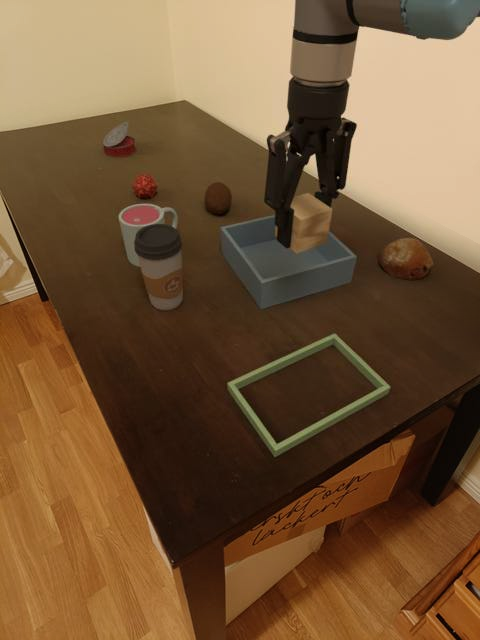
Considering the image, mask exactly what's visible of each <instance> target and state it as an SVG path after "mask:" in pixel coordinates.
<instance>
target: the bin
mask: <svg viewBox="0 0 480 640" xmlns="http://www.w3.org/2000/svg"><path fill="white" fill-rule="evenodd" d="M275 226H276V225H275V214H273V215H267V216H264V217H259V218H254V219H251V220H246V221H241V222H238V223H234V224H229V225H225V226H220V230H219V231H220V251H221V252H220V253H221V254H222V256H223V257H224V259H225V260H226V261H227V263H228V265H229V266H230V267H231V270H232V271H234V274H235V275H236V276H237V278H238V279H239V280H240V282H241V284H242V285H243V286H244V287H245V289H246V290H247V292H248V293H249V295H250V296H251V297H252V299H253V300H254V302H255V303H256V305H257V306H258V308H259V309H260V310H264V309H266V308H270V307H273V306H277V305H279V304H280V305H281V304H285V303H287V302H291V301H293V300H297V299H300V298H304V297H307V296H310V295H314V294H317V293H320V292H323V291H327V290H330V289H331V290H332V289H334V288H337V287H340V286H345V285H347V284H350V283H352V280H353V275H354V272H355V267H356V263H357V258H358V256H357V255H355V253H354V252H353V251H352V250H351V249H350V248H348V247H347V246H346V245H345V244H344V243H343V242H342V241H341V240H340V239H339V238H338V237H336V235H335V234H333V233H332V232H331V231H330V230H329V233H328V239H327V243H325V244H322V245H319V246H317V247H314V248H311V249H308V250H306V251H303V252H300V253H298V254H296V253H295V252H294V251H293V250H291V249H290V248H287V249H286V248H285V247H284V246H283V245H282V244H281V243H279V242H278V241H277V237H276V236H275Z"/></svg>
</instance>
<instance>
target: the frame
mask: <svg viewBox="0 0 480 640" xmlns="http://www.w3.org/2000/svg"><path fill="white" fill-rule="evenodd" d="M330 346H334V348H336V349H337V350H338V352H340V354H342V355H343V356H344V357H345V359H347V361H349V362H350V363H351V364H352V365H353V366H354V367H355V368H356V370H358V371H359V372H360V373H361V374H362V375H363V376H364V377H365V378H366V379H367V380H368V381H369V382H370V383H371V384H372V385H373V386H374V387H375V390H373V391H372V392H369V393H368V394H366V395H364V396H362V397H360V398H358V399H357V400H355V401H353V402H352V403H350V404H348V405H346V406H344V407H341V408H340V409H338V410H337V411H335V412H333V413H331V414H329V415H328V416H326V417H324V418H322V419H321V420H319V421H317V422H315V423H313V424H311V425H309V426H308V427H306V428H304V429H302V430H300V431H298V432H296V433H295V434H293V435H291V436H289V437H287V438H286V439H284V440H282V441H280V442H278V443H277V442H276V440H275V439H274V438H273V436H272V435H271V434H270V432H269V431H268V430H267V428H266V427H265V425H264V424H263V423H262V421H261V419H260V418H259V417H258V415H257V414H256V412H255V411H254V410H253V408H252V407H251V406H250V404H249V402H247V400H246V398H245V397H244V396H243V394H242V393H241V392H240V389H242V388H244V387H246V386H248V385H250V384H253V383H254V382H256V381H258V380H261V379H263V378H265V377H267V376H269V375H272V374H273V373H275V372H278V371H280V370H282V369H285V368H286V367H288V366H290V365H293V364H294V363H295V364H296V362H299V361H301V360H303V359H305V358H307V357H309V356H311V355H314V354H316V353H318V352H321V351H322V350H324V349H327V348H329V347H330ZM391 389H392V388H391V386H390V385H389V384H388V382H386V381H385V380H384V379H383V378H382V377H381V376H380V375H379V374H378V373H377V372H376V371H375V370H374V369H372V367H371V366H370V365H369V364H367V362H366V361H365V360H363V358H362V357H360V356H359V355H358V354H357V353H356V352H355V351H354V350H353V349H352V348H351V347H350V346H349V345H348V344H346V342H345V341H343V339H341V338H340V337H339V335H337V333H335V332H334V333H332V334H329V335H327V336H326V337H323V338H321V339H319V340H317V341H314V342H313V343H310V344H309V345H306V346H304V347H302V348H299V349H298V350H296V351H293V352H291V353H289V354H287V355H285V356H282V357H281V358H278V359H276V360H274V361H271V362H269V363H268V364H265V365H263V366H261V367H259V368H257V369H254V370H252V371H250V372H248V373H246V374H243V375H241V376H239V377H237V378H235V379H233V380H231V381H229V382H227V391H228V393H229V394H230V395H231V397H232V399H233V400H234V401H235V403H236V404H237V405H238V407H239V408H240V410H241V411H242V413H243V414H244V416H245V417H246V418H247V420H248V421H249V424H251V425H252V427H253V429H254V430H255V432H256V433H257V434H258V436H259V437H260V439H261V440H262V441H263V443H264V444H265V446H266V447H267V449H268V450H269V451H270V453H271V454H272V456H273V457H274V458H276V457H279V456H280V455H282V454H284V453H285V452H287V451H289V450H290V449H292V448H294V447H296V446H298V445H299V444H301V443H303V442H305V441H307V440H308V439H310V438H312V437H314V436H316V435H317V434H319V433H321V432H323V431H324V430H326V429H328V428H330V427H332V426H333V425H335V424H337V423H339V422H341V421H342V420H344V419H346V418H347V417H350V416H352V415H353V414H355V413H357V412H358V411H360V410H363V409H364V408H365V407H368V406H369V405H371V404H373V403H375V402H377V401H378V400H380V399H382V398H383V397H385V396H387V395H389V393H390V391H391Z"/></svg>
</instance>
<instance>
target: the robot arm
mask: <svg viewBox="0 0 480 640" xmlns="http://www.w3.org/2000/svg"><path fill="white" fill-rule="evenodd" d="M476 18H480V0H295V1H294V19H293V27H292V28H293V29H292V37H291V49H290V50H291V51H290V64H289V73H290V75H291V76H292V77H291V78H290V80H289V81H288V89H287V100H286V109H287V113H288V120H287V123H286V125H285V127H284V131H283V132H281V133H278V134H277V135H274V134H268V136H267V137H266V145H267V150H268V158H267V168H266V176H265V177H266V178H265V187H264V196H263V201H264V202H263V203H264V204H266V205H267V206H268V207H269V208H271V209H272V210H273V211H274V215H275V225H276V226H277V227H278V230H277V241H278V242H279V243H281V244H282V245H283V246H284V247H285V248H286V249H287V248H290V245H291V235H292V226H293V216H294V209H292V208H291V207H290V206H291V203H292V200H293V198H294V197H295V195H296V191H297V188H298V186H299V183H300V180H301V177H302V175H303V171H304V168H305V166H307V165H308V164H309V162H310V159H311V157H312V156H313V155H314V157H315V163H316V171H317V179H318V186H319V190H317V191H315V192H314V195H313V196H314V197H315V198H317V199H318V200H320V201H321V202H323V203H324V204H326V205H327V206H329V207H330V208H332V204H333V199H334V200H336V199H337V198H338V197H339V196H340V192H338V191H339V190H340V191H342V190H344V189H345V188H346V186H347V178H348V170H349V163H350V156H351V147H352V143H353V141H352V140H353V138H354V136H355V133H356V130H357V127H358V124H357V123H356V122H355V121H352V120H350V119H348V118H346V117H342V116H343V115H344V113H345V112H346V110H347V109H346V108H347V103H348V99H349V91H350V82H349V81H348V80H349V78H351V77H352V74H353V67H354V61H355V54H356V49H357V41H358V35H359V31H360V27H361V28H370V29H376V30H380V31H385V32H391V33H396V34H401V35H405V36H412V37H415V38H416V39H417V40H423V41H425V40H428V39H431V40H432V39H433V40H442V41H451V40H456V39H457V38H459V37H461V36H462V35H463V34H464V33H465V32H466V31H467V29H468V28H469V26H471V25H472V24H473V23H474V22H475V20H476ZM288 145H289V146H288Z"/></svg>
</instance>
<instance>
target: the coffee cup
mask: <svg viewBox="0 0 480 640" xmlns="http://www.w3.org/2000/svg"><path fill="white" fill-rule="evenodd" d="M134 245H135V247H134V249H135V252H136V253H137V256H138V259H139V263H140V266H141V267H140V271H141V275H142V278H143V282H144V285H145V289H146V291H147V294H148V298H149V302H150V304H151V305H152V306H153V307H154V308H155V309H157V310H159V311H166V312H167V311H173V310H174V309H177V308H178V307H179V306H180V305H181V304H182V302H183V300H184V276H183V275H184V271H183V270H184V269H183V267H184V266H183V257H182V247H183V241H182V237H181V235H180V233H179V232H178V230H177V228H176V229H175V228H174V227H172V225H169V224H166V223H165V224H153V225H148V226H145V227H143V228H141V229H140V230H139V231H138V232H137V233H136V236H135V241H134Z"/></svg>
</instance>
